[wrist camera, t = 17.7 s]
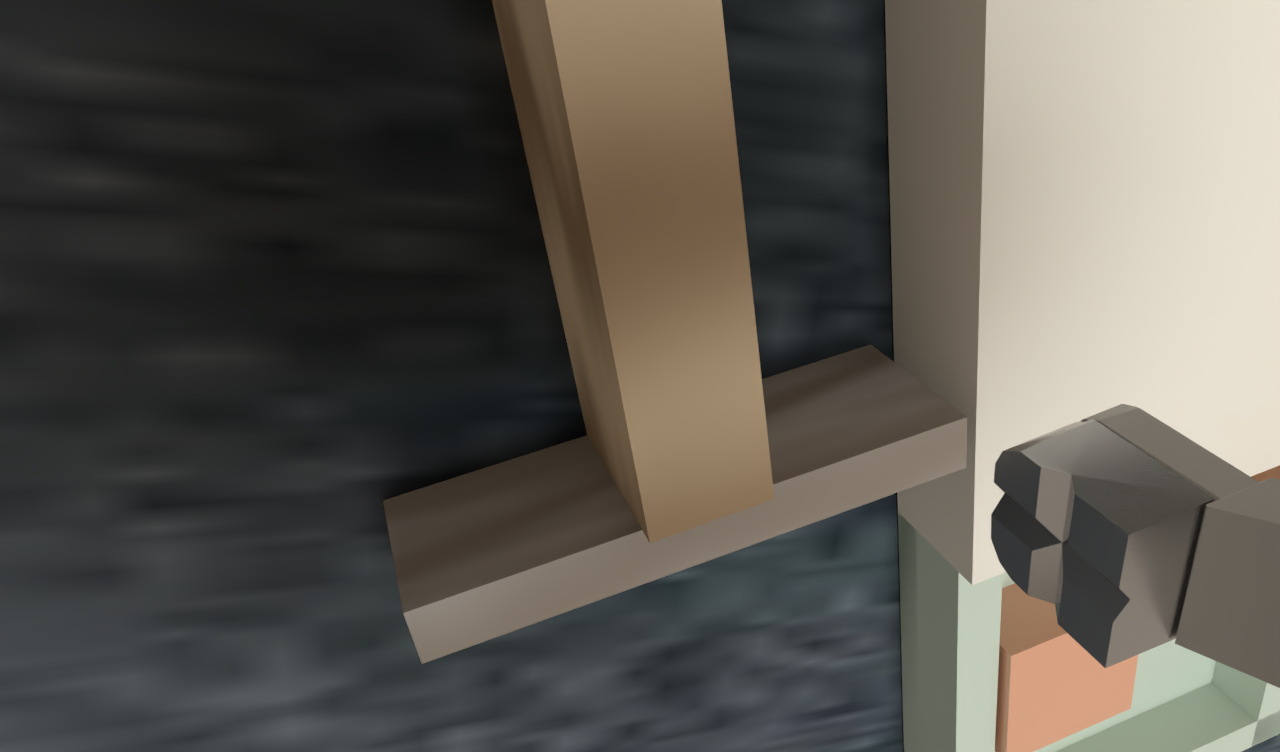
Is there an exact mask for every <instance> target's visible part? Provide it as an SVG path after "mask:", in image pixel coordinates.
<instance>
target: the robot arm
mask: <svg viewBox="0 0 1280 752" xmlns="http://www.w3.org/2000/svg"><path fill="white" fill-rule="evenodd" d="M994 483H995V484H996V485H997V486H998V487H999V488H1000V489H1001V490H1002V491H1003V492H1004V495H1003V496H1002V498H1001V500H1000V501H999V503H998V504H997V506H996V508H995V509H994V511H993V512H992V514H991V540H992V543H993V546H994V548H995V551H996V554H997V557H998V559H999V562H1000V564H1001V565H1002V566H1003V568H1004V569H1005V571H1006V572H1007V574H1008V575H1009V577H1010V578H1011V579H1012V580H1013V581H1014V582H1015V583H1016V584H1017V585H1018V586H1019V587H1020V588H1021V589H1022V590H1023V591H1024V592H1025V593H1026V594H1027V595H1028V596H1031V597H1034V598H1037V599H1040V600H1044V601H1047V602H1050V603H1053V604H1055V609H1056V615H1057V622H1058V625H1059V626H1060V627H1062V628H1063V629H1064V630H1065V631H1066V632H1067V633H1068V634H1069V635H1070V636H1071V637H1072V638H1073V639H1074V640H1075V641H1076V642H1078V643H1079V644H1080V645H1081V646H1082V647H1083V648H1084V649H1085V650H1086V651H1087V652H1088V653H1089V654H1090V655H1091V656H1092V657H1094V658H1095V659H1096V660H1097V661H1098V662H1099V663H1100V664H1101V665H1102V666H1103V667H1104V668H1108V667H1110V666H1112V665H1115V664H1117V663H1119V662H1122V661H1124V660H1126V659H1129V658H1131V657H1133V656H1136V655H1138V654H1141V653H1143V652H1145V651H1148V650H1150V649H1152V648H1155V647H1157V646H1159V645H1162V644H1164V643H1166V642H1169V641H1171V640H1174V639H1176V640H1175V644H1177V645H1179V646H1182V647H1184V648H1186V649H1189V650H1191V651H1193V652H1196V653H1198V654H1201V655H1203V656H1205V657H1208V658H1210V659H1212V660H1215V661H1217V662H1219V663H1222V664H1224V665H1226V666H1229V667H1231V668H1234V669H1236V670H1238V671H1241V672H1243V673H1245V674H1248V675H1250V676H1252V677H1255V678H1257V679H1259V680H1262V681H1264V682H1267V683H1269V684H1271V685H1274V686H1276V687H1278V688H1280V479H1275V478H1269V479H1266V480H1264V481H1261V482H1258V481H1256V480H1255V479H1253V478H1252V477H1250V476H1248V475H1247V474H1245V473H1244V472H1242V471H1240V470H1239V469H1237V468H1236V467H1234V466H1232V465H1231V464H1229V463H1227V462H1226V461H1224V460H1223V459H1221V458H1219V457H1218V456H1216V455H1215V454H1213V453H1211V452H1210V451H1208V450H1207V449H1205V448H1203V447H1202V446H1200V445H1199V444H1197V443H1195V442H1194V441H1192V440H1190V439H1189V438H1187V437H1186V436H1184V435H1182V434H1181V433H1179V432H1178V431H1176V430H1174V429H1173V428H1171V427H1170V426H1168V425H1166V424H1165V423H1163V422H1162V421H1160V420H1158V419H1157V418H1155V417H1153V416H1152V415H1150V414H1149V413H1147V412H1145V411H1144V410H1142V409H1141V408H1139V407H1136V406H1131V405H1126V404H1120V405H1118V406H1115V407H1112V408H1110V409H1107V410H1105V411H1102V412H1100V413H1097V414H1095V415H1092V416H1090V417H1087V418H1085V419H1083V420H1081V421H1080V422H1074V423H1072V424H1069V425H1067V426H1064V427H1062V428H1059V429H1057V430H1054V431H1052V432H1049V433H1047V434H1044V435H1042V436H1039V437H1037V438H1034V439H1032V440H1029V441H1027V442H1024V443H1022V444H1019V445H1017V446H1014V447H1012V448H1009V449H1007V450H1004V451H1002V453H1001V455H1000V456H999V458H998V460H997V461H996V463H995V473H994Z"/></svg>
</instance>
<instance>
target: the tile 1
mask: <svg viewBox="0 0 1280 752" xmlns="http://www.w3.org/2000/svg"><path fill="white" fill-rule="evenodd" d="M1137 661H1138V655H1136V656H1133V657H1131V658H1129V659H1126V660H1124V661H1122V662H1119V663H1117V664H1115V665H1112V666H1110V667H1108V668H1104V667H1103V666H1102V665H1101V664H1100V663H1099V662H1098V661H1097V660H1096V659H1095V658H1094V657H1092V656H1091V655H1090V654H1089V653H1088V652H1087V651H1086V650H1085V649H1084V648H1083V647H1082V646H1081V645H1080V644H1079V643H1078V642H1076V641H1075V640H1074V639H1073V638H1072V637H1071V636H1070V635H1069V634H1068V633H1067V632H1066V631H1065V630H1064V629H1063V628H1062V627H1060V626H1059V625H1058V622H1057V615H1056V609H1055V604H1053V603H1050V602H1047V601H1044V600H1040V599H1037V598H1034V597H1031V596H1028V595H1027V594H1026V593H1025V592H1024V591H1023V590H1022V589H1021V588H1020V587H1019V586H1018V585H1017V584H1016V583H1014V584H1012V585H1009V586H1007V587H1004V588H1002V600H1001V622H1000V644H999V666H998V689H997V711H996V733H995V752H1034V751H1036V750H1038V749H1041V748H1043V747H1045V746H1047V745H1050V744H1052V743H1054V742H1056V741H1059V740H1061V739H1063V738H1065V737H1068V736H1070V735H1072V734H1074V733H1077V732H1079V731H1081V730H1083V729H1086V728H1088V727H1090V726H1092V725H1095V724H1097V723H1099V722H1101V721H1104V720H1106V719H1108V718H1111V717H1113V716H1115V715H1117V714H1120V713H1122V712H1124V711H1126V710H1129V709H1131V703H1132V696H1133V689H1134V682H1135V675H1136V668H1137Z"/></svg>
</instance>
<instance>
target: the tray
mask: <svg viewBox="0 0 1280 752" xmlns="http://www.w3.org/2000/svg"><path fill="white" fill-rule="evenodd" d="M898 539H899V578H900V618H901V657H902V696H903V736H904V752H995V733H996V711H997V689H998V666H999V644H1000V622H1001V600H1002V588H1004V587H1007V586H1009V585H1012V584H1014V583H1015V582H1014V581H1013V580H1012V579H1011V578H1010V577H1009V575H1008V574H1007V572H1005V573H1003V574H1000V575H997V576H995V577H992V578H990V579H987V580H985V581H982V582H980V583H977V584H974V585H971V584H970V583H969V582H968V581H967V580H966V579H965V578H964V577H963V576H962V575H961V574H960V573H959V572H958V571H957V570H956V569H955V568H954V567H953V566H952V565H951V564H950V563H949V562H948V561H947V560H946V559H945V558H944V557H943V556H942V555H941V554H940V553H939V552H938V551H937V550H936V549H935V548H934V547H933V546H932V545H931V544H930V543H929V542H928V541H927V540H926V539H925V538H924V537H923V536H922V535H921V534H920V533H919V532H918V531H917V530H916V529H915V528H914V527H913V526H912V525H911V524H910V523H909V522H908V521H907V520H906V519H905V518H904V517H903V516H902V515H901V514H899V513H898ZM1175 640H1176V639H1174V640H1171V641H1169V642H1166V643H1164V644H1162V645H1159V646H1157V647H1155V648H1152V649H1150V650H1148V651H1145V652H1143V653H1141V654H1138V661H1137V668H1136V675H1135V682H1134V689H1133V696H1132V703H1131V709H1129V710H1126V711H1124V712H1122V713H1120V714H1117V715H1115V716H1113V717H1111V718H1108V719H1106V720H1104V721H1101V722H1099V723H1097V724H1095V725H1092V726H1090V727H1088V728H1086V729H1083V730H1081V731H1079V732H1077V733H1074V734H1072V735H1070V736H1068V737H1065V738H1063V739H1061V740H1059V741H1056V742H1054V743H1052V744H1050V745H1047V746H1045V747H1043V748H1041V749H1038V750H1036V751H1034V752H1241V751H1244V750H1246V749H1248V748H1250V747H1252V746H1254V745H1256V744H1259V743H1261V742H1263V741H1265V740H1267V739H1269V738H1271V737H1274V736H1276V735H1278V734H1280V688H1278V687H1276V686H1274V685H1271V684H1269V683H1267V682H1264V681H1262V680H1259V679H1257V678H1255V677H1252V676H1250V675H1248V674H1245V673H1243V672H1241V671H1238V670H1236V669H1234V668H1231V667H1229V666H1226V665H1224V664H1222V663H1219V662H1217V661H1215V660H1212V659H1210V658H1208V657H1205V656H1203V655H1201V654H1198V653H1196V652H1193V651H1191V650H1189V649H1186V648H1184V647H1182V646H1179V645H1177V644H1175Z"/></svg>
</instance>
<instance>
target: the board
mask: <svg viewBox="0 0 1280 752" xmlns="http://www.w3.org/2000/svg"><path fill="white" fill-rule="evenodd" d="M885 27H886V66H887V105H888V145H889V184H890V224H891V263H892V302H893V342H894V362H895V363H896V364H897V365H899V366H900V367H901V368H903V369H904V370H905V371H907V372H908V373H909V374H911V375H912V376H913V377H915V378H916V379H917V380H919V381H920V382H921V383H923V384H924V385H925V386H927V387H928V388H929V389H931V390H932V391H933V392H935V393H936V394H937V395H939V396H940V397H941V398H942V399H944V400H945V401H946V402H948V403H949V404H950V405H952V406H953V407H954V408H956V409H957V410H958V411H960V412H961V413H962V414H964V415H965V416H966V417H967V457H966V468H964V469H961V470H958V471H956V472H953V473H950V474H947V475H945V476H942V477H939V478H936V479H933V480H931V481H928V482H925V483H922V484H920V485H917V486H914V487H911V488H908V489H906V490H903V491H900V492H897V499H898V513H899V514H901V515H902V516H903V517H904V518H905V519H906V520H907V521H908V522H909V523H910V524H911V525H912V526H913V527H914V528H915V529H916V530H917V531H918V532H919V533H920V534H921V535H922V536H923V537H924V538H925V539H926V540H927V541H928V542H929V543H930V544H931V545H932V546H933V547H934V548H935V549H936V550H937V551H938V552H939V553H940V554H941V555H942V556H943V557H944V558H945V559H946V560H947V561H948V562H949V563H950V564H951V565H952V566H953V567H954V568H955V569H956V570H957V571H958V572H959V573H960V574H961V575H962V576H963V577H964V578H965V579H966V580H967V581H968V582H969V583H970V584H971V585H974V584H977V583H980V582H982V581H985V580H987V579H990V578H992V577H995V576H997V575H1000V574H1003V573H1005V572H1006V571H1005V569H1004V568H1003V566H1002V565H1001V564H1000V562H999V559H998V557H997V554H996V551H995V548H994V546H993V543H992V540H991V514H992V512H993V511H994V509H995V508H996V506H997V504H998V503H999V501H1000V500H1001V498H1002V496H1003V495H1004V492H1003V491H1002V490H1001V489H1000V488H999V487H998V486H997V485H996V484H995V483H994V473H995V463H996V461H997V460H998V458H999V456H1000V455H1001V453H1002V451H1004V450H1007V449H1009V448H1012V447H1014V446H1017V445H1019V444H1022V443H1024V442H1027V441H1029V440H1032V439H1034V438H1037V437H1039V436H1042V435H1044V434H1047V433H1049V432H1052V431H1054V430H1057V429H1059V428H1062V427H1064V426H1067V425H1069V424H1072V423H1074V422H1080V421H1081V420H1083V419H1085V418H1087V417H1090V416H1092V415H1095V414H1097V413H1100V412H1102V411H1105V410H1107V409H1110V408H1112V407H1115V406H1118V405H1120V404H1126V405H1131V406H1136V407H1139V408H1141V409H1142V410H1144V411H1145V412H1147V413H1149V414H1150V415H1152V416H1153V417H1155V418H1157V419H1158V420H1160V421H1162V422H1163V423H1165V424H1166V425H1168V426H1170V427H1171V428H1173V429H1174V430H1176V431H1178V432H1179V433H1181V434H1182V435H1184V436H1186V437H1187V438H1189V439H1190V440H1192V441H1194V442H1195V443H1197V444H1199V445H1200V446H1202V447H1203V448H1205V449H1207V450H1208V451H1210V452H1211V453H1213V454H1215V455H1216V456H1218V457H1219V458H1221V459H1223V460H1224V461H1226V462H1227V463H1229V464H1231V465H1232V466H1234V467H1236V468H1237V469H1239V470H1240V471H1242V472H1244V473H1245V474H1247V475H1248V476H1250V477H1251V476H1254V475H1256V474H1259V473H1261V472H1264V471H1266V470H1269V469H1272V468H1274V467H1277V466H1279V465H1280V0H885Z"/></svg>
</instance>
